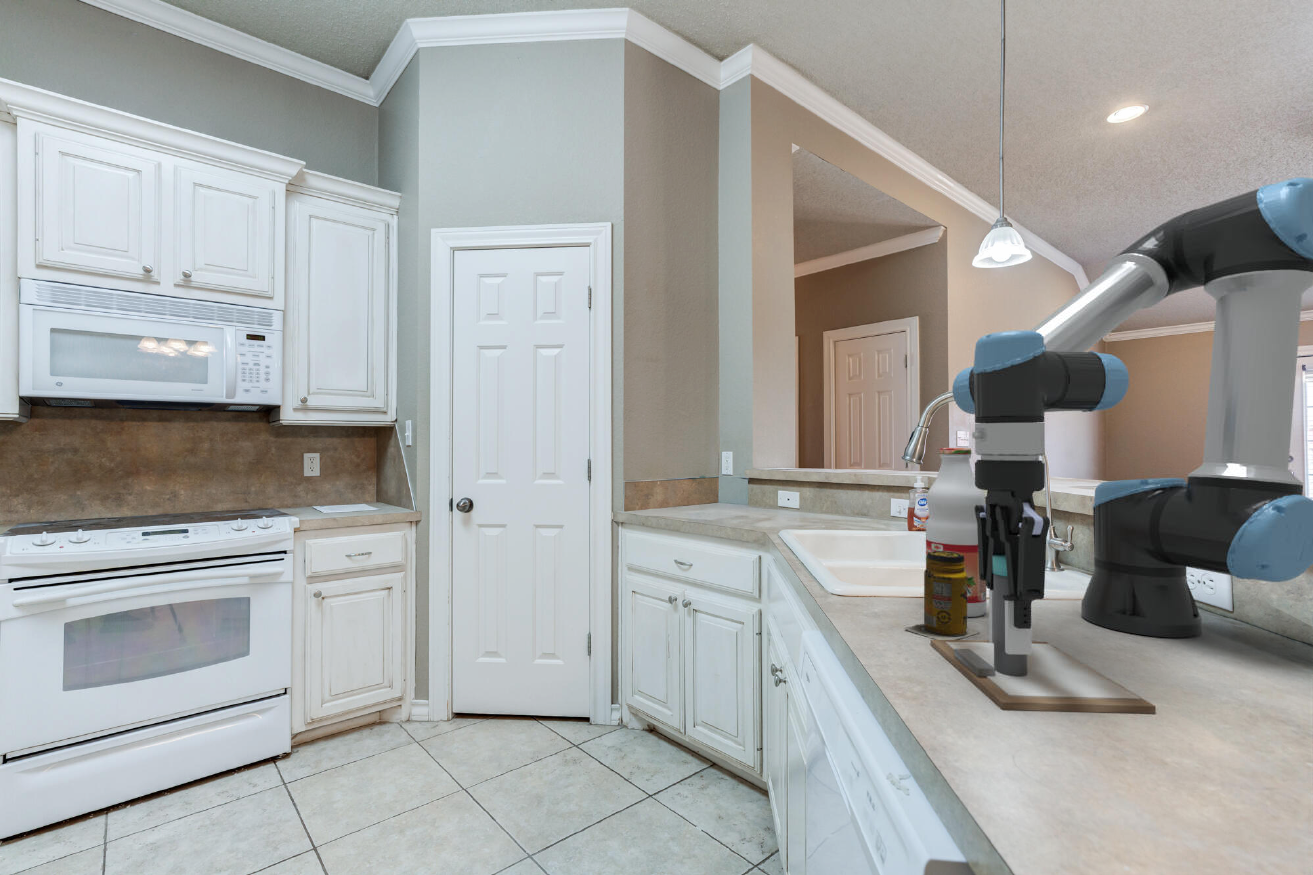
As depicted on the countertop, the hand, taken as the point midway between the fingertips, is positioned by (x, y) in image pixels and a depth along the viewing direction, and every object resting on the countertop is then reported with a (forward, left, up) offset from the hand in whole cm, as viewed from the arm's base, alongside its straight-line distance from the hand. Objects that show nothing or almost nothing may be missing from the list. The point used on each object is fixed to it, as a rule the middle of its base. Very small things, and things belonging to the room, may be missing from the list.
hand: (1009, 647), depth 76 cm
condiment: (+1, -19, -4) cm, 19 cm away
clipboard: (-3, -2, -4) cm, 5 cm away
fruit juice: (-6, -31, -4) cm, 31 cm away
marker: (0, 0, -3) cm, 3 cm away
